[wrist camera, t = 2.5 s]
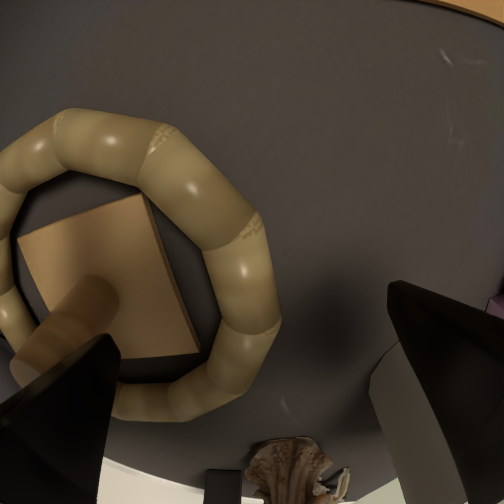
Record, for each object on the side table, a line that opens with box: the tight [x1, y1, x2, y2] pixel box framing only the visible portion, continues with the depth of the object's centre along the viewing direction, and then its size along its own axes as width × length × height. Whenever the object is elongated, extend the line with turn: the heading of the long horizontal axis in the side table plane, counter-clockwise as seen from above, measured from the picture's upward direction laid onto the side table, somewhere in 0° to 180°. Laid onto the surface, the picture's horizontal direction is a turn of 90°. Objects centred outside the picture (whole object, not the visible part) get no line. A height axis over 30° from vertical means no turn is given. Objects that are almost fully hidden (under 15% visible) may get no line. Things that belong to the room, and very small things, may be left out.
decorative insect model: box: [312, 468, 350, 504], centre depth 22 cm, size 9×11×5 cm
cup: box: [369, 341, 467, 504], centre depth 11 cm, size 8×8×10 cm
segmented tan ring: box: [0, 108, 282, 422], centre depth 12 cm, size 17×17×2 cm
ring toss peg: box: [10, 192, 201, 388], centre depth 10 cm, size 8×8×7 cm
